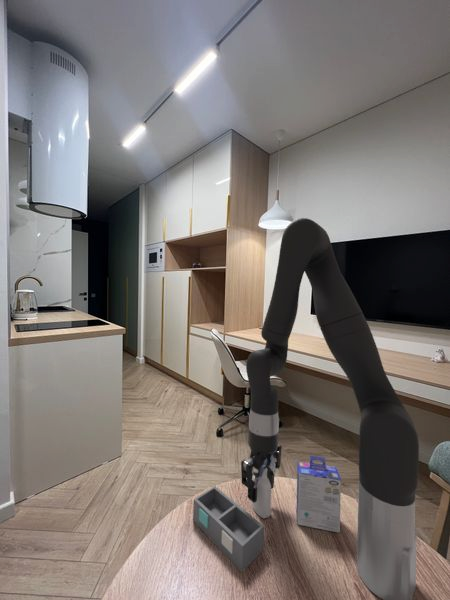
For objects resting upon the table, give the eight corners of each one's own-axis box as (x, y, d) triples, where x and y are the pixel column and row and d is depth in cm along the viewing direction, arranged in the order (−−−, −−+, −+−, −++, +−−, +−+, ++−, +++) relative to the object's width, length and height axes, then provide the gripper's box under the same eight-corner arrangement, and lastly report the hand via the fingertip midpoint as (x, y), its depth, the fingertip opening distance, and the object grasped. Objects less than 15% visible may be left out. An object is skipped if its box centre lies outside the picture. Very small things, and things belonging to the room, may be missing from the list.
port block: (263, 549, 54) (264, 526, 54) (240, 573, 49) (241, 547, 49) (214, 505, 65) (214, 485, 65) (191, 521, 60) (192, 499, 60)
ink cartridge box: (335, 515, 64) (337, 456, 64) (341, 534, 58) (343, 470, 59) (295, 507, 66) (296, 451, 66) (296, 525, 60) (298, 464, 61)
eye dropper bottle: (268, 502, 67) (269, 456, 67) (270, 520, 61) (272, 470, 62) (251, 500, 67) (253, 455, 68) (252, 518, 62) (254, 468, 62)
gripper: (257, 443, 57) (254, 518, 57) (291, 424, 67) (289, 488, 67) (233, 430, 62) (230, 499, 62) (268, 414, 72) (266, 473, 72)
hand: (261, 493), depth 64 cm, fingers open, 6 cm apart
